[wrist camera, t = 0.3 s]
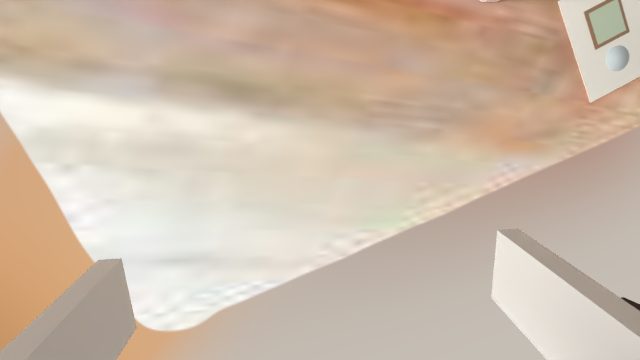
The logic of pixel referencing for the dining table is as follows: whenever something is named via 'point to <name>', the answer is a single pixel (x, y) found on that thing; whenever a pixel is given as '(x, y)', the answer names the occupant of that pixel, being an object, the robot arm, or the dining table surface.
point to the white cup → (489, 0)
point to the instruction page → (604, 42)
